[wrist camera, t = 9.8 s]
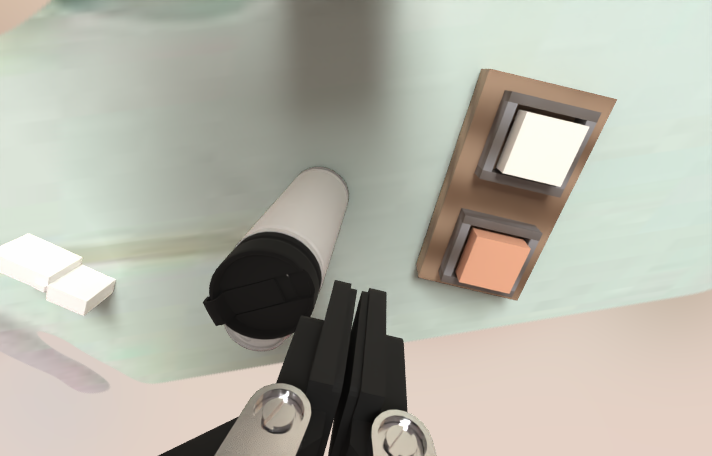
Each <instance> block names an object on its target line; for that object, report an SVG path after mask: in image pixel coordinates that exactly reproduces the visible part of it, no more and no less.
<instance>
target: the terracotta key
mask: <svg viewBox="0 0 712 456" xmlns="http://www.w3.org/2000/svg"><path fill="white" fill-rule="evenodd" d="M530 250H531V249H530V247H529V246H528V245H527V244H526V242H525V241H524V240H523V239H519V238H515V237H510V236H506V235H502V234H498V233H494V232H489V231H485V230H481V229H477V228H472V230H471V233H470V235H469V238H468V240H467V243H466V245H465V248H464V250H463V253H462V256H461V258H460V261H459V263H458V266H457V268H456V271H455V272H456V275H457V278H458V281H459V282H461V283H465V284H469V285H474V286H478V287H482V288H486V289H491V290H495V291H499V292H504V293H508V294H509V293H510V291H511V289H512V287H513V285H514V283H515V281H516V279H517V277H518V275H519V273H520V271H521V268H522V266H523V264H524V262H525V260H526V258H527V256H528V254H529V252H530Z"/></svg>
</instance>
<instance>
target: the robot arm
mask: <svg viewBox="0 0 712 456" xmlns="http://www.w3.org/2000/svg"><path fill="white" fill-rule="evenodd" d="M356 294H357V290H355V289H351V284H350V283H345V282H341V281H337V280H335V282H334V286H333V290H332V294H331V298H330V301H329V305H328V309H327V313H326V317H325V321H324V320H320V319H316V318H311V317H307V316H303V315H301V317H300V319H299V322H298V325H297V327H296V330H295V333H294V336H293V338H292V341H291V344H290V347H289V349H288V352H287V355H286V358H285V360H284V363H283V366H282V369H281V371H280V374H279V377H278V380H277V383H276V384H271V385H268V386H264V387H263V388H261V389H260V390H258V391H256V393H255V394H254V395H253V396H252V397H251V398H250V400H249V401H248V403H247V404H246V406H245V408H244V409H243V411H242V412H241V414H240V416H239V417H237V418H235V419H233V420H231V421H229V422H226V423H225V424H222V425H220V426H218V427H216V428H214V429H212V430H210V431H208V432H206V433H204V434H202V435H200V436H198V437H196V438H194V439H192V440H189V441H187V442H186V443H183V444H181V445H179V446H177V447H175V448H173V449H171V450H169V451H167V452H165V453H163V454H161V455H159V456H323V455H324V452H325V448H326V445H327V441H328V437H329V434H330V430H331V427H332V423H333V428H332V435H331V441H330V447H329V454H328V456H437V455H436V452H435V448H434V444H433V440H432V438H431V435H430V433H429V431H428V429H427V428H426V427H425V426H424V424H423V423H422V422H421V421H419V419H418V418H416V417H415V416H413V415H411V414H409V413H408V412H407V396H406V377H405V359H404V343H403V339H402V338H397V337H393V336H389V335H386V292H384V291H380V290H375V289H371V288H369V291H368V292H364V291H362V293H361V296H360V300H359V304H358V307H357V311H356V315H355V318H354V322H353V326H352V321H353V314H354V307H355V300H356ZM351 328H352V330H351ZM333 420H334V422H333Z"/></svg>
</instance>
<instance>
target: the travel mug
mask: <svg viewBox="0 0 712 456" xmlns="http://www.w3.org/2000/svg"><path fill="white" fill-rule="evenodd" d="M348 201H349V192H348V187H347V185H346V183H345V181H344V180H343V178H342V177H341V176H340V175H339V174H338V173H336V172H335V171H333V170H331V169H329V168H325V167H312V168H309V169H306V170H304V171H303V172H301V173H300V174H299V175H298V176H297V177H296V179H295V180H294V181H293V182H292V183H291V184H290V185H289V186H288V188H287V189H286V190H285V191H284V192H283V193H282V194H281V195H280V197H279V198H278V199H277V200H276V201H275V202H274V203H273V204H272V206H271V207H270V208H269V209H268V210H267V211H266V212H265V213H264V215H263V216H262V217H261V218H260V219H259V220H258V221H257V222H256V224H255V225H254V226H253V227H252V228H251V229H250V230H249V231H248V233H247V234H246V235H245V236H244V237H243V238H242V239H241V241H240V242H239V243H238V244H237V245H236V246H235V248H234V250H233V251H232V252H231V253H230V254H229V255H228V256H227V258H226V259H225V260H224V261H223V262H222V263H221V264H220V266H219V267H218V268H217V269H216V271H215V272H214V274H213V276H212V279H211V282H210V287H209V295H210V297H207V298H206V299H205V300H204V302H203V304H204V306H205V308H206V310H207V312H208V313H209V315H210V317H211V318H212V320H213V322H214V324H215V325H216V326H218V325H223V324H225V325H226V326H227V327H229V328H230V329H231V330H233V331H234V332H237V333H239V334H241V335H243V336H246V337H249V338H253V339H261V340H270V339H277V338H282V337H285V336H288V335H290V334H292V333H294V332H295V330H296V327H297V325H298V322H299V319H300V317H301V315H303V316H307V317H310V316H311V314H312V312H313V309H314V306H315V303H316V300H317V297H318V294H319V292H320V290H321V287H322V284H323V281H324V278H325V275H326V271H327V268H328V265H329V262H330V259H331V256H332V252H333V249H334V246H335V243H336V240H337V237H338V233H339V230H340V227H341V224H342V221H343V218H344V214H345V211H346V208H347V205H348Z"/></svg>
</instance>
